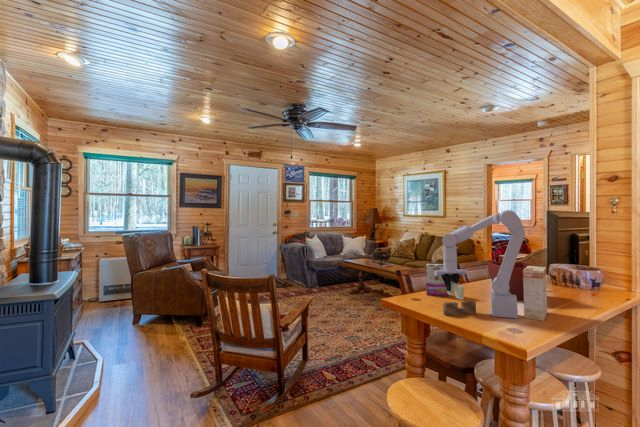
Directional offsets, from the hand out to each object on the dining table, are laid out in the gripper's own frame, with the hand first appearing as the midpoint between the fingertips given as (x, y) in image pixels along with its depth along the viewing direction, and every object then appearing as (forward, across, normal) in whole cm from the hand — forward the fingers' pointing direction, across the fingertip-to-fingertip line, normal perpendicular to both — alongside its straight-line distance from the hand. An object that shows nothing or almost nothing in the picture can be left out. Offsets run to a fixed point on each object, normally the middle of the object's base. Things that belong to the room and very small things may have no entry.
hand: (450, 290), depth 147 cm
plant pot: (+9, -43, -12) cm, 46 cm away
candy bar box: (+8, -8, -27) cm, 29 cm away
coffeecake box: (+9, -29, +16) cm, 34 cm away
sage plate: (+2, 0, +3) cm, 4 cm away
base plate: (+8, +1, +7) cm, 11 cm away
